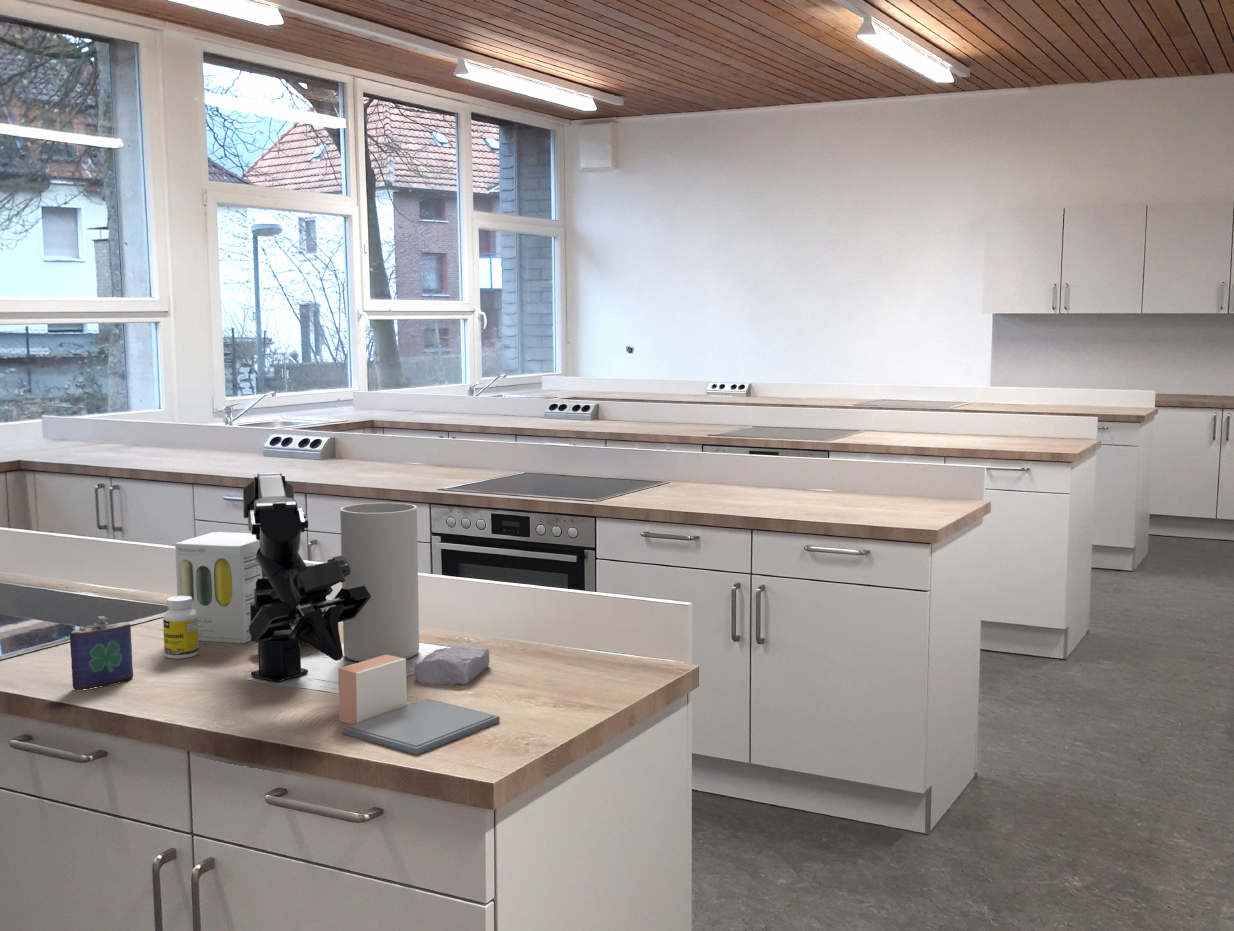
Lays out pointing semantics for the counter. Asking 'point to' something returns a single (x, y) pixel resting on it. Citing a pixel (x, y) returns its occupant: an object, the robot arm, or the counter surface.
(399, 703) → the salmon orange block
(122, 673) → the flask
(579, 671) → the counter surface
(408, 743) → the slate board
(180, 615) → the supplement bottle
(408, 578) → the cylinder vase
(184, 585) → the supplement box
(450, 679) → the stone block
